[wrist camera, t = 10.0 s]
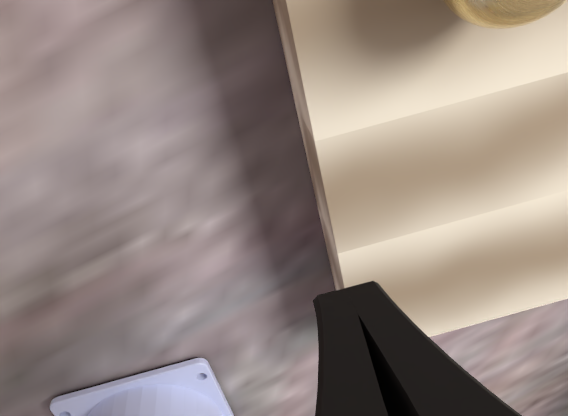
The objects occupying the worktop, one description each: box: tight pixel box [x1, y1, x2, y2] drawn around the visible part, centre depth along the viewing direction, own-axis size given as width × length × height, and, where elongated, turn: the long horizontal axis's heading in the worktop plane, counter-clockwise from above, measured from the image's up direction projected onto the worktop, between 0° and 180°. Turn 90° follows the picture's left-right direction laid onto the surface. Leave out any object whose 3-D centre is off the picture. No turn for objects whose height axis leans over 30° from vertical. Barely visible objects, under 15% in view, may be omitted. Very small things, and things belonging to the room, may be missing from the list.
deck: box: [272, 0, 568, 337], centre depth 17 cm, size 17×16×4 cm
